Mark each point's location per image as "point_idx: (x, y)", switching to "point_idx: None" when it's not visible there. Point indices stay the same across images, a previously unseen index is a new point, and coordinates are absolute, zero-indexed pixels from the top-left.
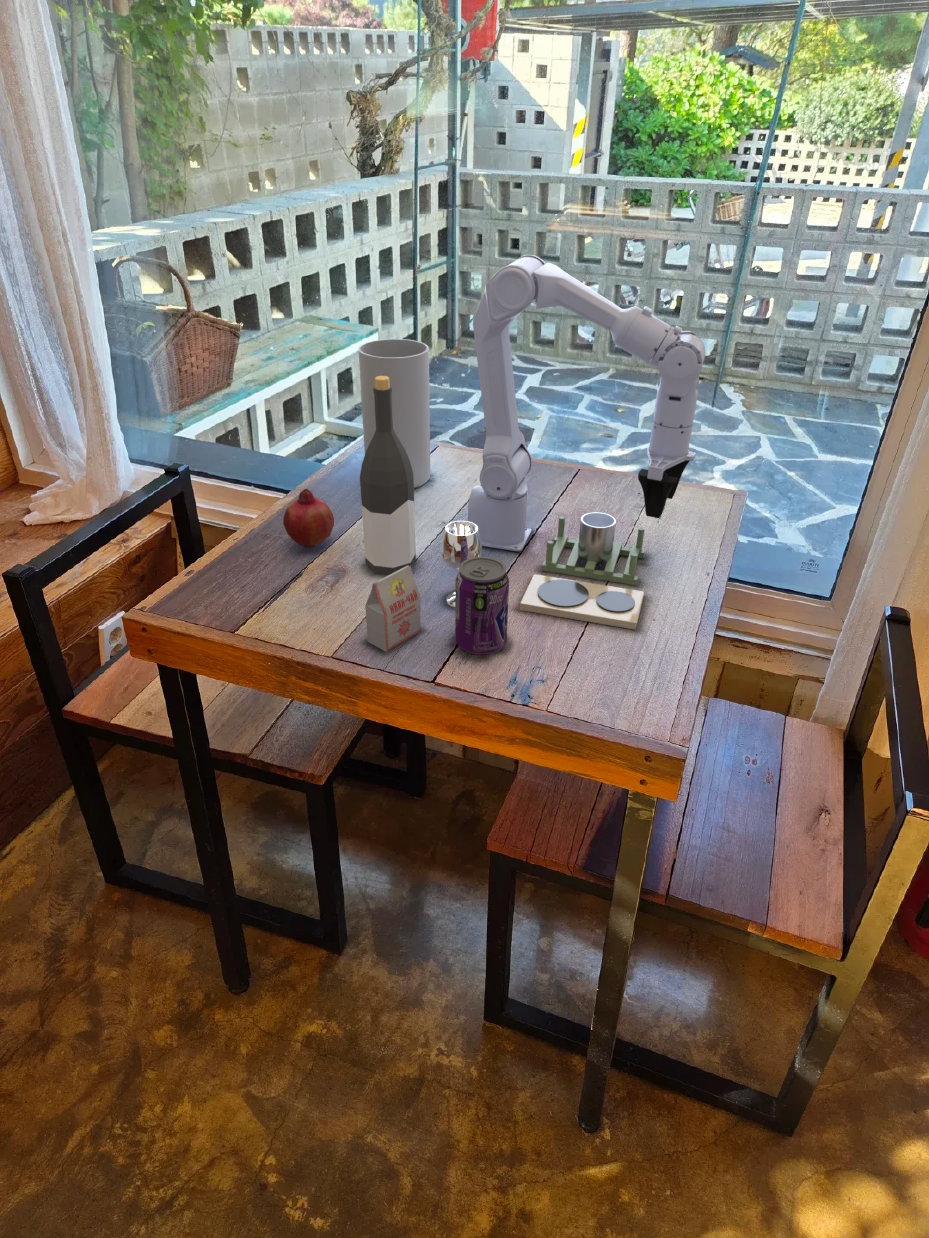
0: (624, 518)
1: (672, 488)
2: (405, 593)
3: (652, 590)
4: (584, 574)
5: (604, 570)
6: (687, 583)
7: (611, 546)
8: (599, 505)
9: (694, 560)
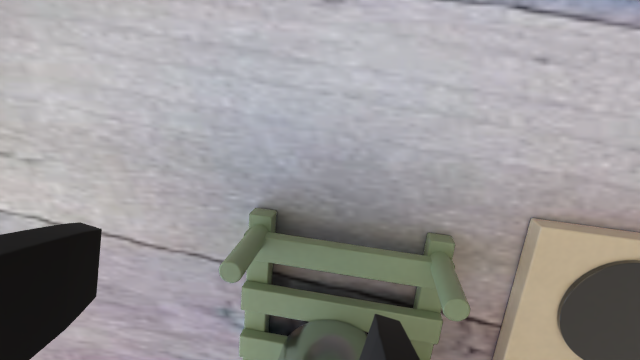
0: None
1: (37, 268)
2: None
3: (474, 188)
4: None
5: (434, 343)
6: (410, 74)
7: (351, 356)
8: None
9: (245, 46)
